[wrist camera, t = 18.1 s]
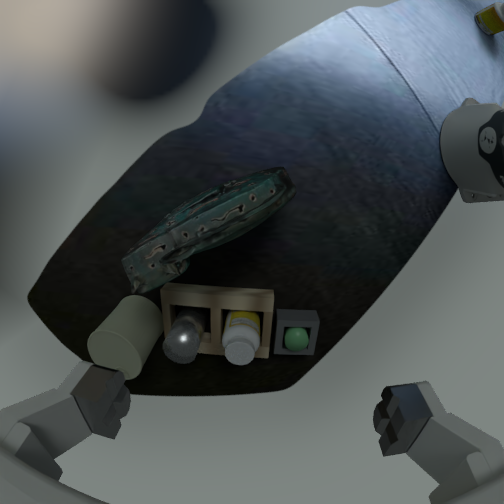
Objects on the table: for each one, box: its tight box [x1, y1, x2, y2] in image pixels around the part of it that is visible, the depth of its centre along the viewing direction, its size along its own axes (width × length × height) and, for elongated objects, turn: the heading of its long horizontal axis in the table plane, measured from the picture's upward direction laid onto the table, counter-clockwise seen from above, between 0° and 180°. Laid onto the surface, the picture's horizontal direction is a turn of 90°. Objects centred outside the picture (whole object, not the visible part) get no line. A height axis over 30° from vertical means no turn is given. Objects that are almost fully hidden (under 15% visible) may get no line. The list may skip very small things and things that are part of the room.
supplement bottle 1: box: [222, 309, 260, 365], centre depth 42 cm, size 5×5×10 cm
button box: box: [273, 309, 320, 355], centre depth 45 cm, size 6×6×4 cm
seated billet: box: [163, 306, 209, 364], centre depth 42 cm, size 5×5×10 cm
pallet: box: [160, 282, 274, 358], centre depth 45 cm, size 17×11×3 cm, turn 87°
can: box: [88, 295, 164, 380], centre depth 42 cm, size 9×9×12 cm
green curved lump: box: [121, 167, 296, 294], centre depth 32 cm, size 20×6×20 cm, turn 118°
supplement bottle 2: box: [475, 2, 504, 35], centre depth 22 cm, size 6×6×10 cm
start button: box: [284, 327, 309, 351], centre depth 44 cm, size 4×4×3 cm
